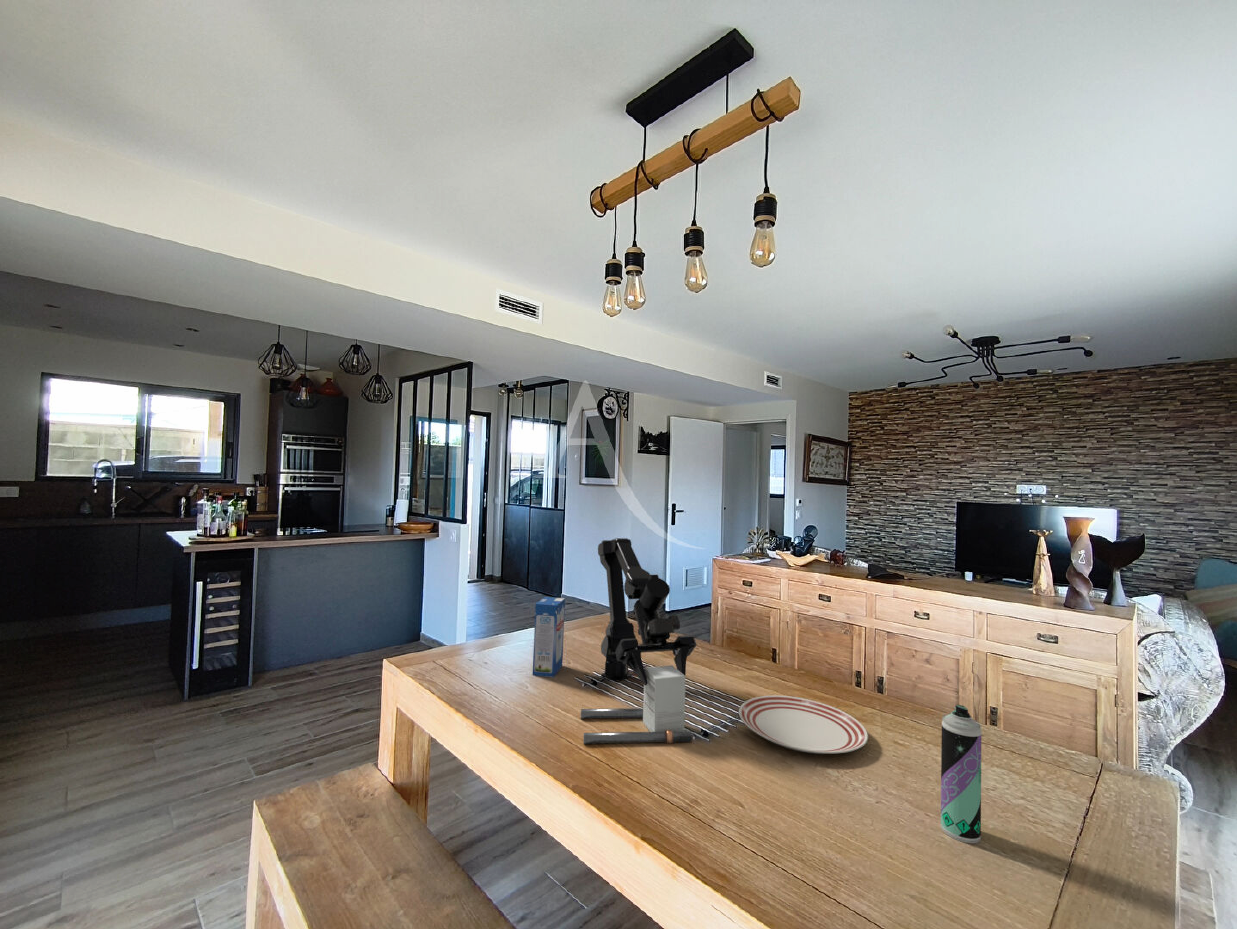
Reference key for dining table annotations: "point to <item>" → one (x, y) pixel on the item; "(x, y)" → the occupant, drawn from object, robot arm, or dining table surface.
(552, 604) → the milk carton
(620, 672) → the robot arm
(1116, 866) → the dining table surface
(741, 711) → the dinner plate
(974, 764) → the spray can
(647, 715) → the supplement box
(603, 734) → the pipe track
